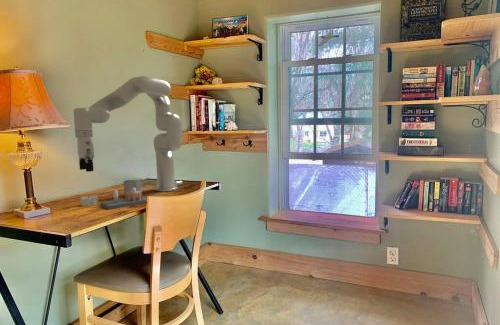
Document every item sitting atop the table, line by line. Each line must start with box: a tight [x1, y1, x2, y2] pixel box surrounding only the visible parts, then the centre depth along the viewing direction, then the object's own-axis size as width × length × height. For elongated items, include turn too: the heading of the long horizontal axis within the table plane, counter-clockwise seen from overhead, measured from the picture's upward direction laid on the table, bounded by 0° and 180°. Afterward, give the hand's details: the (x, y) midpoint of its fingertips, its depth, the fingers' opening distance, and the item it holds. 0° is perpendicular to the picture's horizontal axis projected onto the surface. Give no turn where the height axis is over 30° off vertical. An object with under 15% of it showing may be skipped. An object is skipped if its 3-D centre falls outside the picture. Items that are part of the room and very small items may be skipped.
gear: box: [80, 195, 99, 207], centre depth 181 cm, size 7×7×4 cm
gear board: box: [99, 188, 148, 210], centre depth 180 cm, size 20×11×7 cm, turn 130°
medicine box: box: [123, 179, 143, 198], centre depth 195 cm, size 8×4×9 cm, turn 71°
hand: (86, 170), depth 179 cm, fingers open, 9 cm apart
